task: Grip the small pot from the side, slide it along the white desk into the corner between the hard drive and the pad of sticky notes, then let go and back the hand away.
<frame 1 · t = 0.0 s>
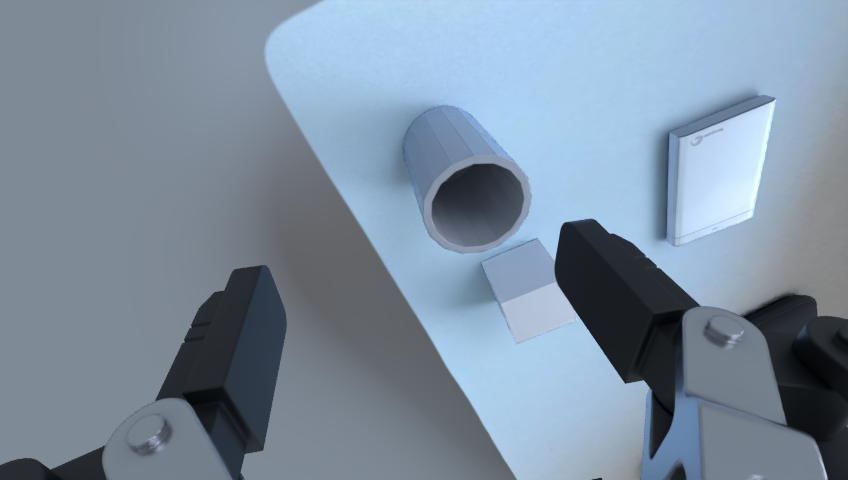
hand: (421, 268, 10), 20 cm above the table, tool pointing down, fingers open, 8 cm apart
carrying case: (747, 332, 52), on the table
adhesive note: (515, 270, 39), on the table
hard drive: (706, 173, 36), on the table
pot: (443, 147, 30), on the table
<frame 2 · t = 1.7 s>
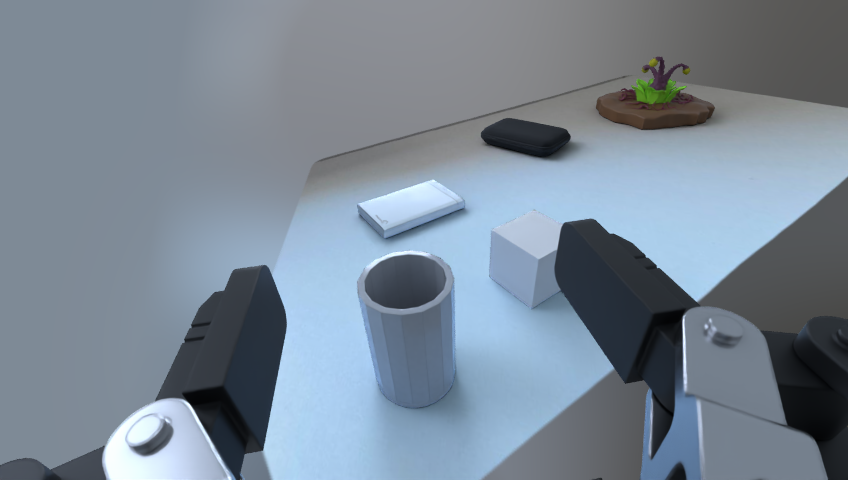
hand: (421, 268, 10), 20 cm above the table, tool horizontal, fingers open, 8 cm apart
carrying case: (525, 144, 70), on the table
plant: (647, 114, 80), on the table
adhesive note: (529, 281, 39), on the table
hard drive: (411, 212, 52), on the table
pot: (416, 371, 31), on the table
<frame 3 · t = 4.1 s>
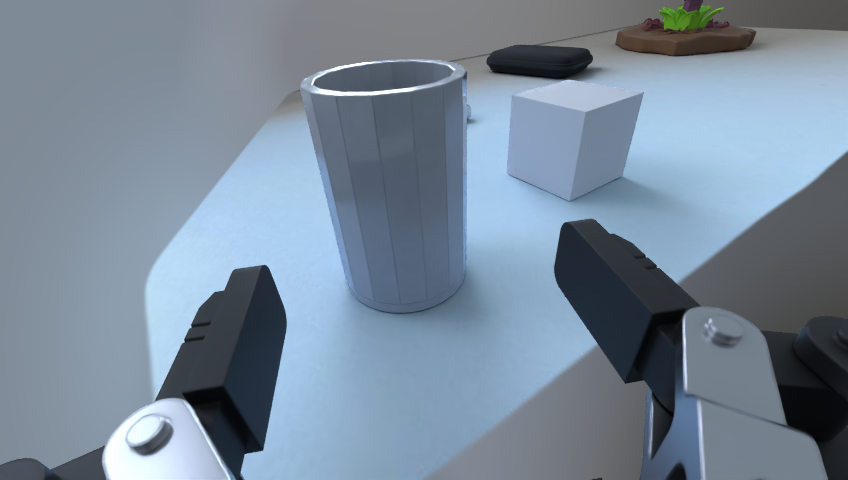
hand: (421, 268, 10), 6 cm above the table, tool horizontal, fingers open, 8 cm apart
carrying case: (538, 71, 60), on the table
plant: (676, 46, 70), on the table
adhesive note: (562, 176, 29), on the table
pot: (406, 270, 20), on the table
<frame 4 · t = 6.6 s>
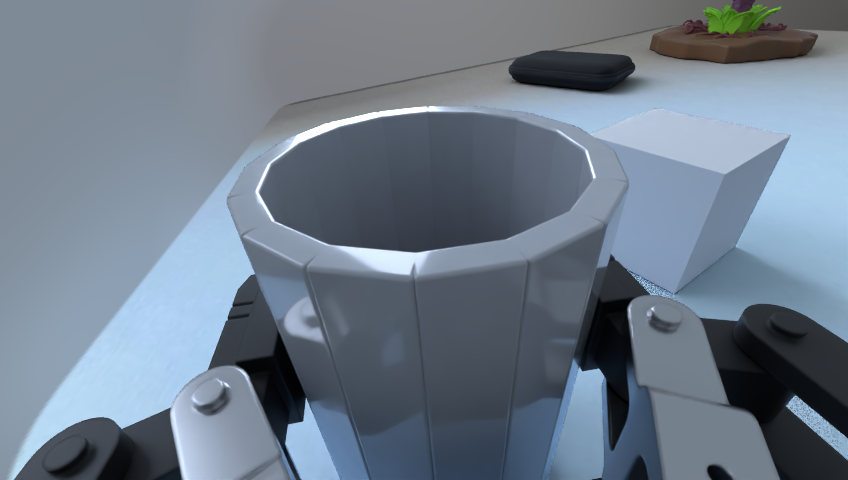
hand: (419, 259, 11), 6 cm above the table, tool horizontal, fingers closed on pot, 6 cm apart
carrying case: (569, 81, 52), on the table
plant: (720, 52, 61), on the table
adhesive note: (646, 244, 21), on the table
pot: (442, 446, 12), on the table, touching gripper
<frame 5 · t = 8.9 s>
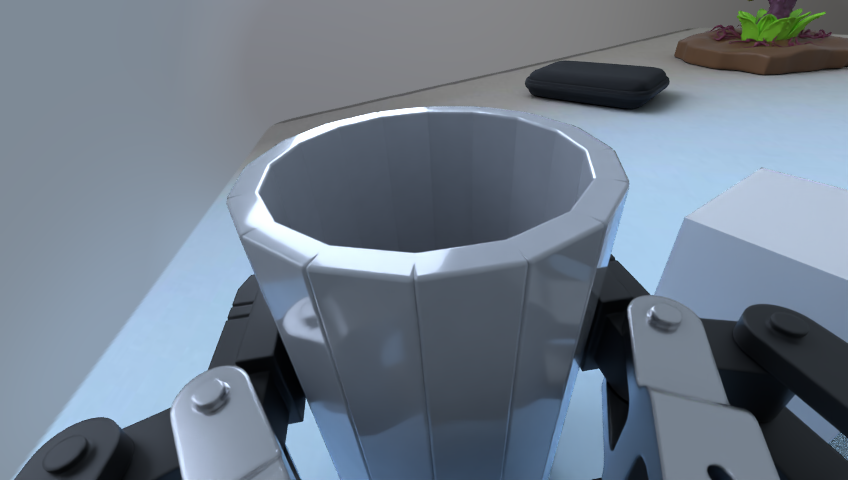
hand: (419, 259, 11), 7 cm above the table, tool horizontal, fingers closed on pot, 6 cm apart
carrying case: (592, 95, 46), on the table
plant: (754, 60, 56), on the table
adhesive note: (748, 349, 15), on the table
pot: (442, 446, 12), point 1 cm above the table, touching gripper
when the fingers open (6 cm above the table, at t = 11.2 s): pot stays where it is, on the table.
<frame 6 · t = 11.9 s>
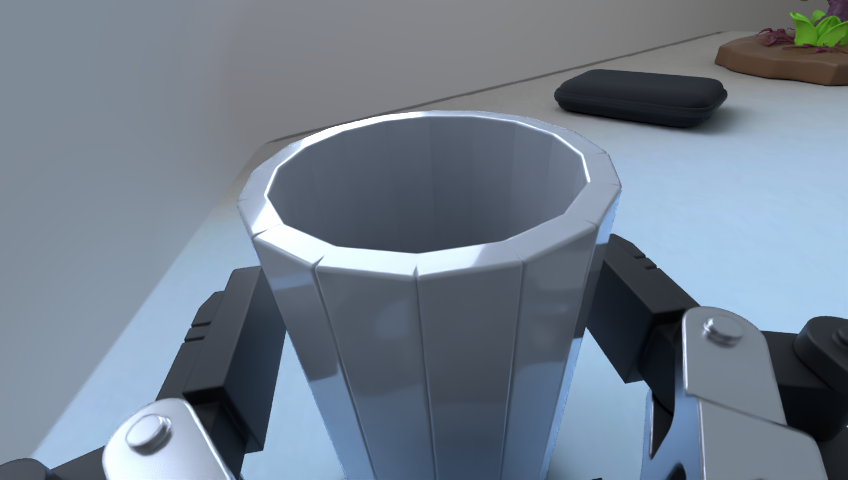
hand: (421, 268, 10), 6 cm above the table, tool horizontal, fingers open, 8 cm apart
carrying case: (633, 110, 40), on the table
plant: (808, 68, 50), on the table
pot: (444, 442, 13), on the table
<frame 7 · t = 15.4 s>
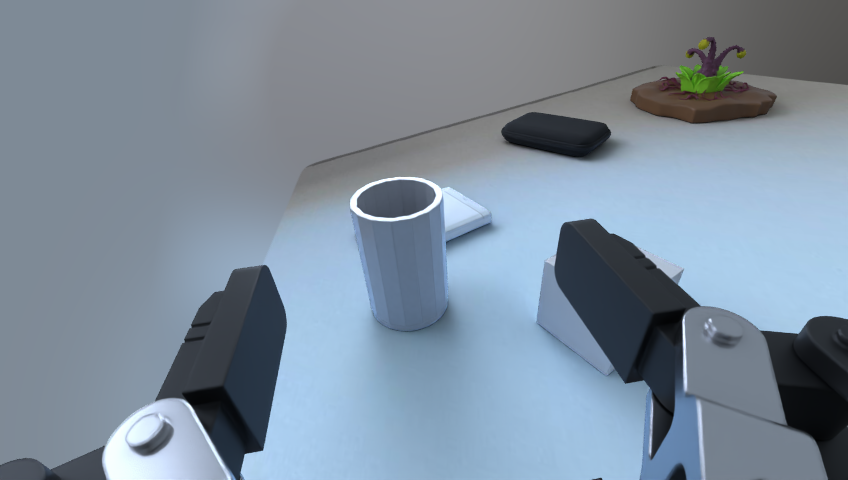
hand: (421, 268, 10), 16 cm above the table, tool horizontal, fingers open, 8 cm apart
carrying case: (554, 142, 59), on the table
plant: (693, 106, 68), on the table
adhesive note: (594, 329, 28), on the table
hard drive: (423, 228, 41), on the table
pot: (409, 302, 31), on the table
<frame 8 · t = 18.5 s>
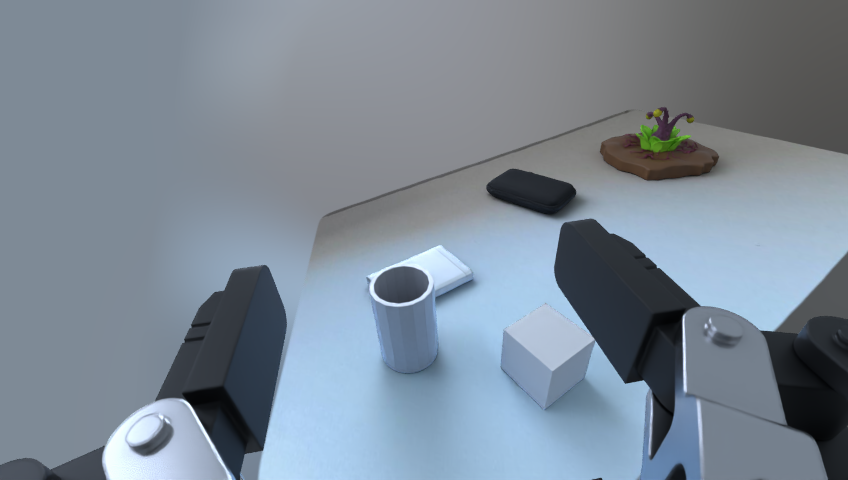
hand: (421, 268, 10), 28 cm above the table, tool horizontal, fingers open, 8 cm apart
carrying case: (530, 196, 70), on the table
plant: (651, 160, 80), on the table
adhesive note: (541, 373, 39), on the table
hard drive: (420, 283, 52), on the table
pot: (410, 349, 43), on the table
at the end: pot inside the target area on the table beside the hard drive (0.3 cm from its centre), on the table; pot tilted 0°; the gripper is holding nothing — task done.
